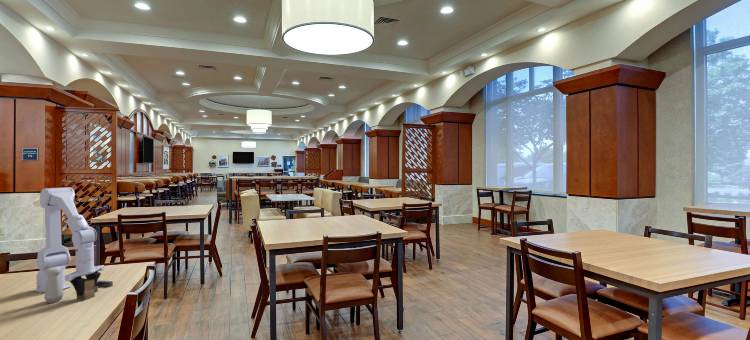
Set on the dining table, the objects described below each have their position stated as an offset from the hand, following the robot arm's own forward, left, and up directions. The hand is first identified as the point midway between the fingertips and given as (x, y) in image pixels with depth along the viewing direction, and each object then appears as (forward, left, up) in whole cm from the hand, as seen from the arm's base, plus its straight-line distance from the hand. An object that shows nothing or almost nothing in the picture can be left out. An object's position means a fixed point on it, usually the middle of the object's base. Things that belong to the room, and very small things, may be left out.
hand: (85, 293), depth 146 cm
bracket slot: (-5, +10, -2) cm, 11 cm away
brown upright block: (0, 0, -2) cm, 2 cm away
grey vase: (-9, -5, -2) cm, 11 cm away
